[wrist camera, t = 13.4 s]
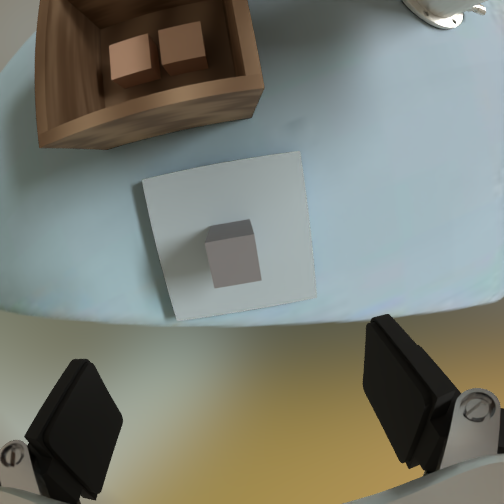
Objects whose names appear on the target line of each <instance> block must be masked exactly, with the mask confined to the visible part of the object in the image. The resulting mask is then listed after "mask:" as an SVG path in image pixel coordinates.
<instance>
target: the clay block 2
mask: <svg viewBox="0 0 504 504" xmlns="http://www.w3.org/2000/svg"><path fill="white" fill-rule="evenodd" d="M158 35H159V44H160V53H161V62H162V66H163V67H164V69H165V70H166V71H167V73H168V74H169V75H170V76H174V75H179V74H183V73H188V72H193V71H198V70H203V69H208V68H209V67H208V61H207V54H206V48H205V41H204V36H203V31H202V27H201V22H200V21H198V22H193V23H188V24H183V25H179V26H174V27H170V28H166V29H162V30H158Z"/></svg>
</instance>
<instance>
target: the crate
mask: <svg viewBox="0 0 504 504" xmlns="http://www.w3.org/2000/svg"><path fill="white" fill-rule="evenodd" d="M198 21H200V22H201V27H202V31H203V36H204V41H205V48H206V54H207V61H208V67H209V68H208V69H203V70H198V71H193V72H188V73H183V74H179V75H174V76H170V75H169V74H168V73H167V71H166V70H165V69H164V67H163V66H162V62H161V53H160V44H159V35H158V30H162V29H166V28H170V27H174V26H179V25H183V24H188V23H193V22H198ZM147 33H148V34H149V36H150V37H151V39H152V40H153V41H154V43H155V44H156V46H157V49H158V58H159V67H160V75H161V79H158V80H154V81H150V82H147V83H143V84H140V85H136V86H133V87H129V88H126V89H125V88H123V87H122V86H120V85H118V84H117V83H115V82H114V81H112V80H111V68H110V53H109V46H110V45H112V44H115V43H118V42H121V41H124V40H127V39H130V38H134V37H137V36H140V35H144V34H147ZM263 90H264V82H263V77H262V71H261V66H260V60H259V55H258V50H257V45H256V40H255V35H254V30H253V25H252V20H251V15H250V11H249V6H248V1H247V0H40V5H39V13H38V21H37V32H36V47H35V105H36V120H37V132H38V141H39V148H73V149H99V150H108V149H111V148H114V147H118V146H121V145H125V144H128V143H132V142H135V141H139V140H143V139H147V138H151V137H155V136H159V135H163V134H167V133H171V132H176V131H180V130H185V129H190V128H195V127H200V126H205V125H210V124H216V123H221V122H227V121H233V120H240V119H246V118H252V115H253V113H254V111H255V108H256V106H257V104H258V102H259V99H260V97H261V95H262V93H263Z"/></svg>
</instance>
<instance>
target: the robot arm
mask: <svg viewBox="0 0 504 504" xmlns="http://www.w3.org/2000/svg"><path fill="white" fill-rule="evenodd" d="M402 1H403V2H404V3H405V5H406V6H407V7H408V8H409V9H410V10H411V11H412V12H413V13H415V14H416V15H417V16H418V17H420V18H421V19H423V20H424V21H426V22H427V23H429V24H431V25H433V26H435V27H438V28H441V29H452V28H455V27H457V26H458V25H460V23H461V22H462V19H463V12H465V11H473V12H475V13H477V14H480V15H485V13H486V9H485V7H484V6H483V5H481V4H480V3H483V2H485V1H487V0H402ZM365 344H366V345H365V361H364V374H363V389H364V392H365V394H366V396H367V398H368V400H369V402H370V404H371V405H372V407H373V409H374V411H375V413H376V415H377V417H378V419H379V421H380V423H381V425H382V427H383V429H384V431H385V433H386V435H387V437H388V439H389V441H390V443H391V445H392V447H393V449H394V451H395V453H396V455H397V457H398V459H399V461H400V462H401V463H404V462H406V464H407V466H408V468H409V469H410V468H413V467H415V466H418V465H421V467H422V469H423V470H425V472H424V475H423V477H420V478H418V479H415V480H412V481H410V482H407V483H405V484H403V485H400V486H397V487H394V488H392V489H389V490H386V491H383V492H380V493H377V494H374V495H371V496H368V497H364V498H361V499H358V500H354V501H351V502H347V503H343V504H504V409H503V408H500V402H499V400H498V398H497V397H496V396H495V395H494V394H493V393H492V392H490V391H488V390H485V389H481V388H475V389H470V390H467V391H465V392H463V393H462V394H461V393H460V391H459V390H458V389H457V388H456V387H455V385H454V384H453V383H452V382H451V381H450V380H449V378H448V377H447V376H446V375H445V374H444V373H443V371H442V370H441V369H440V368H439V367H438V366H437V364H436V363H435V362H434V361H433V360H432V359H431V358H430V356H429V355H428V354H427V353H426V352H425V351H424V350H423V349H422V347H420V346H419V345H417V344H416V343H415V342H414V341H413V340H412V339H411V338H410V337H409V335H408V334H407V333H406V332H405V331H404V330H403V329H402V328H401V327H400V326H399V324H398V323H397V322H396V321H395V320H394V319H393V318H392V317H391V316H390V315H389V314H385V315H381V316H377V317H373V318H372V319H371V323H368V324H367V325H366V342H365ZM122 423H123V418H122V415H121V413H120V411H119V409H118V408H117V406H116V404H115V403H114V401H113V399H112V398H111V396H110V394H109V392H108V390H107V388H106V387H105V385H104V383H103V381H102V379H101V377H100V375H99V373H98V371H97V369H96V367H95V366H94V364H93V363H91V362H90V361H89V360H88V359H74V360H72V361H71V362H70V364H69V365H68V367H67V368H66V370H65V371H64V373H63V374H62V376H61V377H60V379H59V380H58V382H57V383H56V385H55V386H54V388H53V389H52V391H51V393H50V394H49V396H48V397H47V399H46V401H45V402H44V404H43V406H42V407H41V409H40V410H39V412H38V414H37V416H36V417H35V419H34V421H33V422H32V424H31V426H30V427H29V429H28V431H27V432H26V434H25V436H24V437H25V438H26V439H27V440H28V442H29V444H28V445H26V444H25V443H24V442H23V441H20V440H13V441H10V442H8V443H6V444H5V445H4V446H3V447H2V448H1V449H0V504H81V502H80V500H79V498H80V495H81V496H82V497H83V498H87V499H91V500H96V498H97V494H99V493H100V492H101V490H102V487H103V484H104V480H105V477H106V474H107V470H108V467H109V464H110V461H111V457H112V454H113V451H114V448H115V445H116V441H117V439H118V435H119V433H120V430H121V427H122Z"/></svg>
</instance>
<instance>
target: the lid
mask: <svg viewBox="0 0 504 504" xmlns="http://www.w3.org/2000/svg"><path fill="white" fill-rule="evenodd" d="M142 184H143V189H144V194H145V198H146V203H147V208H148V213H149V217H150V222H151V226H152V230H153V234H154V239H155V243H156V247H157V251H158V255H159V259H160V263H161V267H162V270H163V274H164V278H165V281H166V285H167V289H168V292H169V296H170V299H171V303H172V306H173V309H174V313H175V316H176V319H177V321H182V320H189V319H196V318H203V317H210V316H216V315H223V314H229V313H235V312H241V311H247V310H253V309H259V308H265V307H270V306H276V305H281V304H287V303H292V302H297V301H302V300H307V299H313V298H317V292H316V280H315V269H314V259H313V249H312V239H311V230H310V222H309V213H308V205H307V197H306V190H305V182H304V175H303V168H302V161H301V154H300V151H296V152H288V153H280V154H273V155H266V156H259V157H253V158H246V159H240V160H234V161H229V162H223V163H217V164H212V165H207V166H202V167H196V168H192V169H187V170H182V171H177V172H173V173H168V174H164V175H159V176H155V177H151V178H147V179H142Z"/></svg>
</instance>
